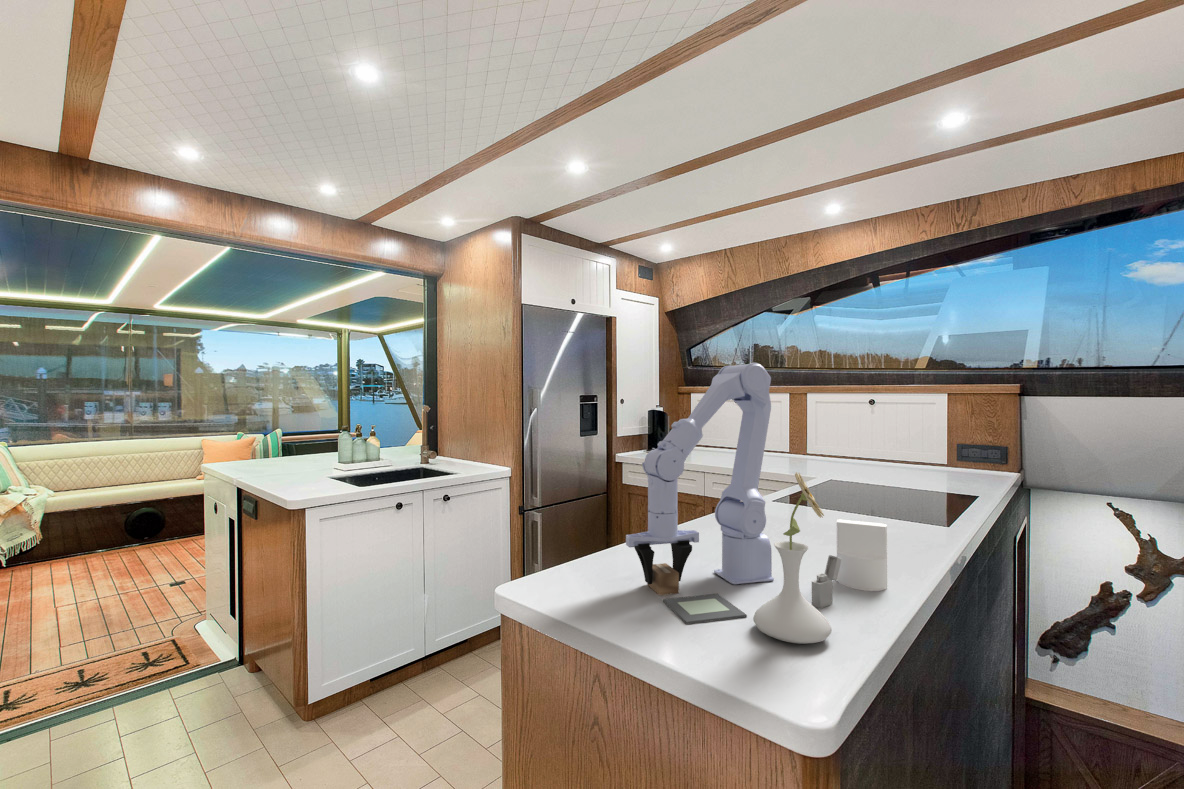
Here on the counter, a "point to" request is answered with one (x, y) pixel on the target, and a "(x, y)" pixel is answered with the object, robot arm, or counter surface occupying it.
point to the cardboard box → (664, 579)
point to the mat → (703, 608)
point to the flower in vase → (793, 592)
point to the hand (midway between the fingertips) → (662, 581)
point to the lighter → (825, 583)
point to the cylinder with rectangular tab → (862, 554)
